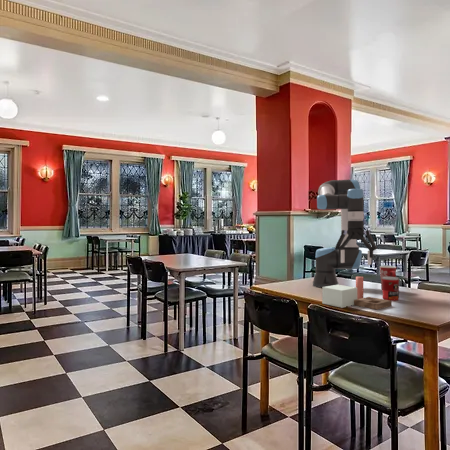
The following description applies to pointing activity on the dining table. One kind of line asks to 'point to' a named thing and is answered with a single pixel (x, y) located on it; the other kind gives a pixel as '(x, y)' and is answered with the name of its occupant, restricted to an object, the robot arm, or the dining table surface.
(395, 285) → the canned food
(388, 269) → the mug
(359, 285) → the peg
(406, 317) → the dining table surface
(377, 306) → the wooden square frame
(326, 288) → the block
